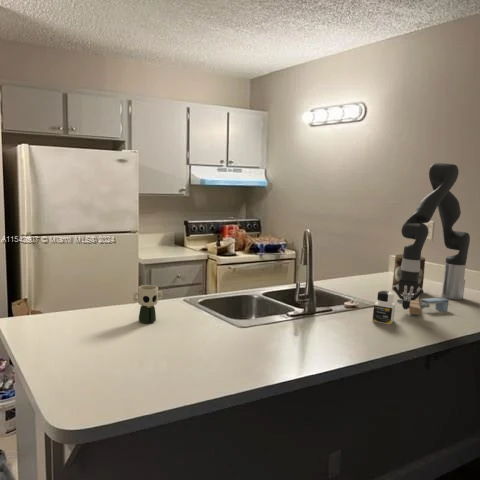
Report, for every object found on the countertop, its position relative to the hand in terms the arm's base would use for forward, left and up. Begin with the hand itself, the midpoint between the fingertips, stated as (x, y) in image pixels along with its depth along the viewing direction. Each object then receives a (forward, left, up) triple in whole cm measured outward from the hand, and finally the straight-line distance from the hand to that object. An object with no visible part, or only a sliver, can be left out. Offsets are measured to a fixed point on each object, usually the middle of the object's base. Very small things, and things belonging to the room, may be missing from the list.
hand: (405, 308), depth 201 cm
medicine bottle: (+17, +7, -2) cm, 19 cm away
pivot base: (-15, -11, -2) cm, 19 cm away
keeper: (-16, 0, -2) cm, 16 cm away
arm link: (-8, -4, -1) cm, 9 cm away
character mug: (+108, -13, -2) cm, 109 cm away
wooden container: (-31, -33, -2) cm, 45 cm away
